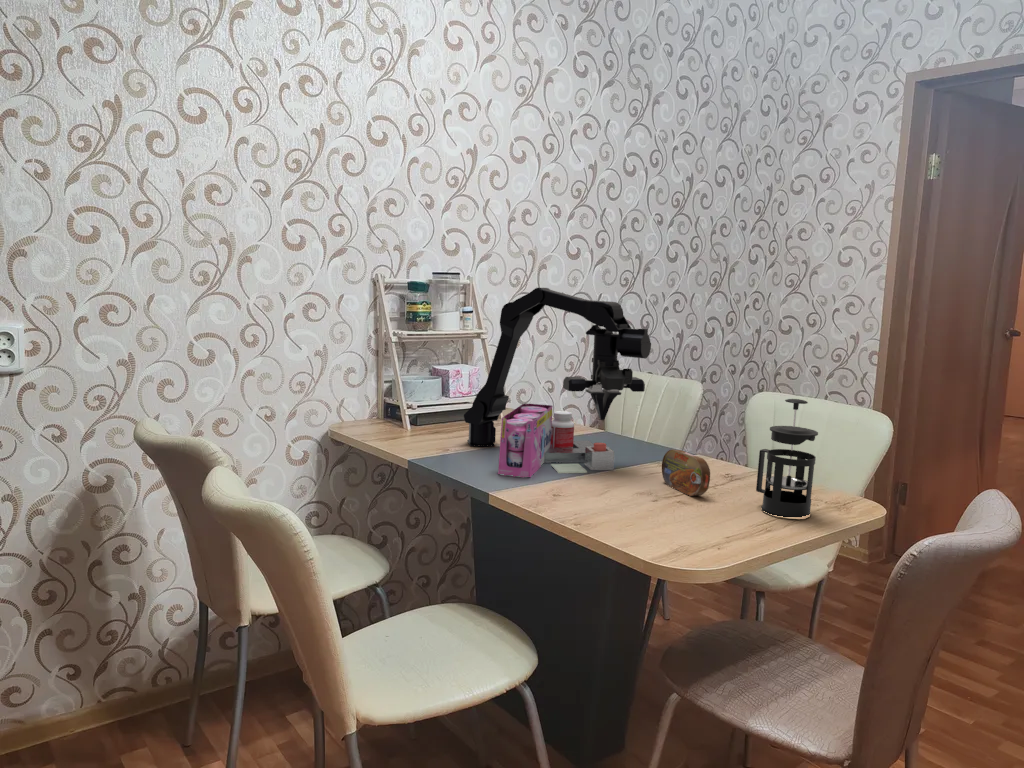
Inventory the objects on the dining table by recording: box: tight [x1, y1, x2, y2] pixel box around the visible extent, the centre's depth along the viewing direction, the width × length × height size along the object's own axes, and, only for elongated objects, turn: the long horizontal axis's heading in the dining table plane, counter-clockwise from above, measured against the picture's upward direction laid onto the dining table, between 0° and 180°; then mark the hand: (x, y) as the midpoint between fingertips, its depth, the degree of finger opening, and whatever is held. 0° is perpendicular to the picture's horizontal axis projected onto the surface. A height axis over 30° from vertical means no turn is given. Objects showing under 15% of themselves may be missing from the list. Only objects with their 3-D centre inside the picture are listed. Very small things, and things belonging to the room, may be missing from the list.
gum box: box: [497, 402, 554, 478], centre depth 172 cm, size 24×8×14 cm, turn 166°
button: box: [593, 442, 607, 451], centre depth 173 cm, size 3×3×3 cm
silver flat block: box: [544, 440, 594, 464], centre depth 183 cm, size 16×13×2 cm
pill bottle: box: [551, 410, 575, 448], centre depth 184 cm, size 6×6×11 cm
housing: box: [584, 445, 615, 471], centre depth 173 cm, size 6×6×4 cm
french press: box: [755, 398, 819, 517], centre depth 143 cm, size 12×9×23 cm
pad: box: [550, 463, 588, 474], centre depth 171 cm, size 7×7×1 cm
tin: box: [661, 449, 711, 497], centre depth 156 cm, size 15×3×8 cm, turn 21°
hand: (602, 419), depth 172 cm, fingers closed
